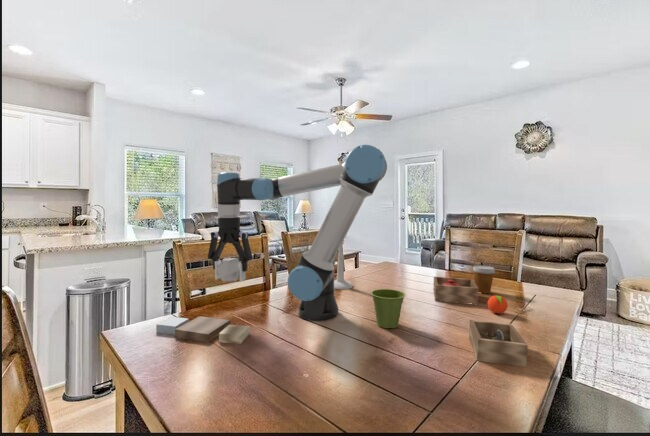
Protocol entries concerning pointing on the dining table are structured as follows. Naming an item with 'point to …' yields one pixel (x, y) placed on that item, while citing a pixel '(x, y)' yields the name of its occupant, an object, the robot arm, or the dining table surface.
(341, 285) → the candlestick
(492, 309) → the clementine
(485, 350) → the tray
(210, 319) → the walnut block
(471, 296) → the wooden box
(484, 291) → the disposable coffee cup
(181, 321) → the grey block
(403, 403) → the dining table surface
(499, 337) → the eagle figurine
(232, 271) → the die
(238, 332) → the oak block
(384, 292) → the plant pot
